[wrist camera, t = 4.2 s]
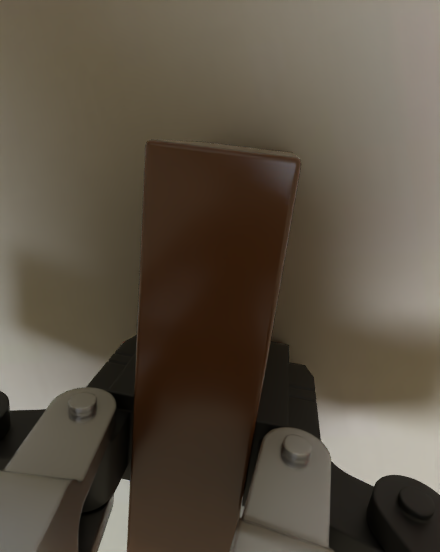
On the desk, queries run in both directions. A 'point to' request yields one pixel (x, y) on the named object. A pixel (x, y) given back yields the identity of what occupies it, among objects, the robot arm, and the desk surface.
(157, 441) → the brown bar
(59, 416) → the robot arm
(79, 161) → the desk surface
